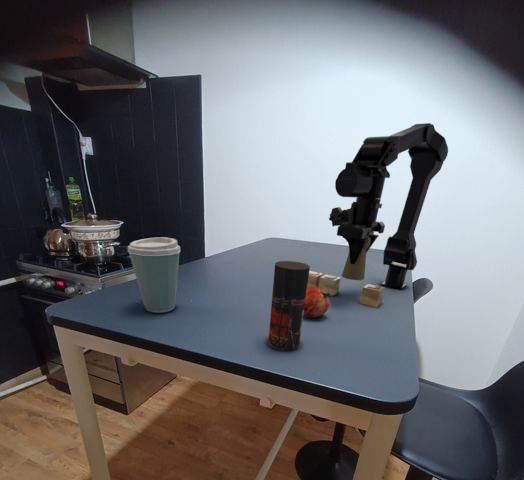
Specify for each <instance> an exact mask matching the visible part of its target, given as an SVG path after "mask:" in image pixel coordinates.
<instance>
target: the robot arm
mask: <svg viewBox="0 0 524 480" xmlns="http://www.w3.org/2000/svg"><path fill="white" fill-rule="evenodd" d="M405 151H407V153H408V155H409V158H410V163H409V169H410V173H411V177H412V178H411V182H410V185H409V189H408V192H407V195H406V198H405V203H404V205H403V210H402V213H401V216H400V219H399V223H398V226H397V229H396V232H395V233H394V234H393V235H392V236H389V237H388V238H387V240H386V244H385V247H384V249H383V257H382V258H383V259H382V260H383V261H382V264H383V265H385V266H388V268H387V273H386V276H385V280H384V281H382V282H381V286H383V287H388V288H393V289H398V290H403V289H404V288H405V287H406V286H407V283H405V280H406V277H407V273H408V271H414V270H415V268H416V267H417V264H418V259H417V254H416V248H417V241H416V238H415V231H416V229H417V225H418V221H419V219H420V216H421V212H422V210H423V206H424V203H425V200H426V197H427V194H428V190H429V187H430V185H431V181H432V179H434V178H435V177H436V175H437V174H439V172H440V171H441V170H442V167H443V165H444V162H445V161H446V159H447V157H448V153H449V146H448V144H447V141H446V137H444V136H443V135H442V134H440V132H439V131H437V130H436V128H435V125H434V123H431V122H427V123H416V124H413V125H411V126H410V127H408V128H405V129H402V130H400V131H398V132H396V133H393V134H390V135H381V136H368V137H366V138H365V139H364V140H363V141H362V145H361V146H360V148H359V149H358V151H357V152H356V154H355V156H354V158H353V159H352V161H351V162H349V161H348V162H346V163H345V168H343V169H342V170H340V172H339V173H338V175H337V177H336V179H335V181H334V188H335V191H336V193H337V195H338V196H339V197H341V198H355V201H352V203H351V204H350V207H349V208H347V209H342V208H341V207H340V206H339V207H338V206H337V207H334V208H331V212H330V213H329V217H328V221H330V222H331V226H332V227H337V230H336V236H337V237H342V238H343V239H344V240H345V241H346V242H347V244H348V245H347V246H348V254H349V253H350V263H351V264H355V263H356V261H357V260H358V258H359V256H360V254H361V252H362V250H363V249H364V247H365V245H366V243H367V241H368V240H369V238H365V237H366V235H367V236H369V237H370V245H369V247H368V248H367V251H366V254H367V253H369V252H368V251H370V249H371V247H373V245H374V243H375V242H376V240H377V239H378V238H379V236H380V235H379V234H383V233H384V232H385V228H386V225H385V223H384V222H383V221H381V220H377V218H378V215H379V209H382V208H383V207H382V206H383V203H381V200H382V195H383V191H384V187H385V182H386V179H390V177H391V174H390V172H389V171H388V169H387V167H389V166H390V165H391V164H393V163H394V162H396V161H397V159H398V158H399V155H400V154H401V153H403V152H405ZM375 233H378V234H375Z"/></svg>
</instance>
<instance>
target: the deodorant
mask: <svg viewBox="0 0 524 480" xmlns="http://www.w3.org/2000/svg"><path fill="white" fill-rule="evenodd" d="M310 269H311V266H310V265H309V264H307V263H304V262H301V261H294V260H293V261H292V260H280V261H277V262H275V263H274V269H273V270H274V271H273V283H272V284H273V285H272V296H271V304H270V305H271V306H270V307H271V308H270V317H269V318H270V319H269V329H268V340H267V341H268V342H267V343H268V346H269V347H270V348H272V349H274V350H277V351H280V352H281V351H282V352H292V351H295V350H297V349H298V348H299V347H300V341H301V335H302V334H301V333H302V327H303V320H304V306H305V299H306V291H307V284H308V277H309V271H311V270H310Z"/></svg>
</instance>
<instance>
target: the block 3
mask: <svg viewBox="0 0 524 480" xmlns="http://www.w3.org/2000/svg"><path fill="white" fill-rule="evenodd" d="M385 289H386V286H380V285H376V284H370V283H367V284H366V285H364V286H363V287H362V290H361V294H360V299H359V304H360V305H363V306H368V307H372V308H377V307H379V306H380V305H381V304H382V301H383V297H384V293H385Z"/></svg>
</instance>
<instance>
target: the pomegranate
mask: <svg viewBox="0 0 524 480" xmlns="http://www.w3.org/2000/svg"><path fill="white" fill-rule="evenodd" d="M329 295H330V297H333V296H332V295H331V294H330V293H325V291H324V290H323V289H321V288H318V287H315V286H309V287H307V291H306V299H305V306H304V313H303V316H305V317H307V318H311V319H314V318H315V319H316V318H318V317H320V316H323V315H324V314H326V313H327V311H328V310H329V307H330V299H329Z"/></svg>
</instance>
